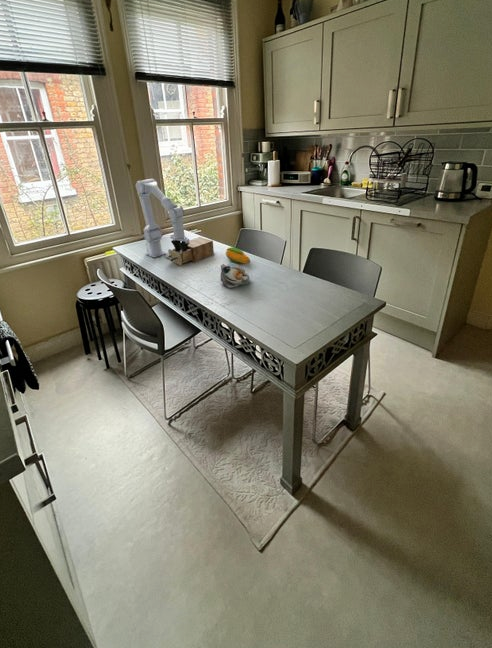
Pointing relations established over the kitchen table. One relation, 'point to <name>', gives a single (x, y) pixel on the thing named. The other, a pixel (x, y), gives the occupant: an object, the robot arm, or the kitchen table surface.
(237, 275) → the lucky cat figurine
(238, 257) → the corn
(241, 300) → the kitchen table surface
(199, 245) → the cabinet
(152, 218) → the robot arm
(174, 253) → the drawer
